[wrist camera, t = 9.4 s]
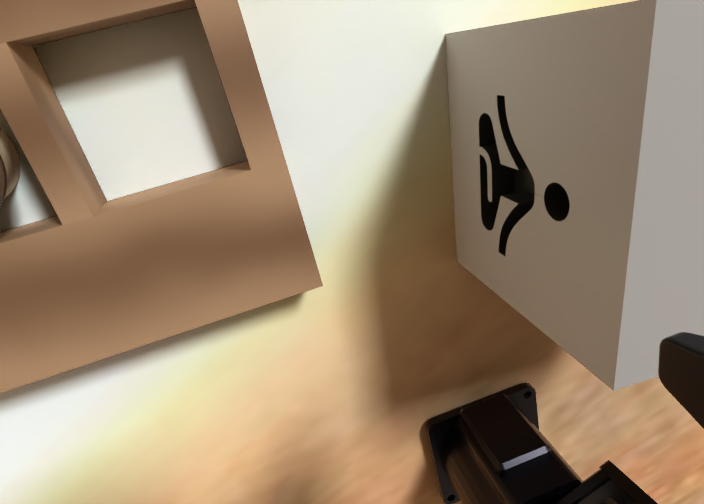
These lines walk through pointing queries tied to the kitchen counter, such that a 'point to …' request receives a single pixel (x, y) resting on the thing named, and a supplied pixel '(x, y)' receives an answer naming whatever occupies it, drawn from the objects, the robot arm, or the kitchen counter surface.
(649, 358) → the icon cube
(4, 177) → the peg
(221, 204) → the board
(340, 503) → the kitchen counter surface
